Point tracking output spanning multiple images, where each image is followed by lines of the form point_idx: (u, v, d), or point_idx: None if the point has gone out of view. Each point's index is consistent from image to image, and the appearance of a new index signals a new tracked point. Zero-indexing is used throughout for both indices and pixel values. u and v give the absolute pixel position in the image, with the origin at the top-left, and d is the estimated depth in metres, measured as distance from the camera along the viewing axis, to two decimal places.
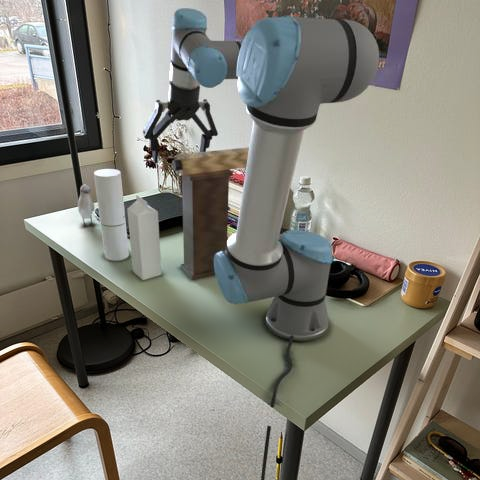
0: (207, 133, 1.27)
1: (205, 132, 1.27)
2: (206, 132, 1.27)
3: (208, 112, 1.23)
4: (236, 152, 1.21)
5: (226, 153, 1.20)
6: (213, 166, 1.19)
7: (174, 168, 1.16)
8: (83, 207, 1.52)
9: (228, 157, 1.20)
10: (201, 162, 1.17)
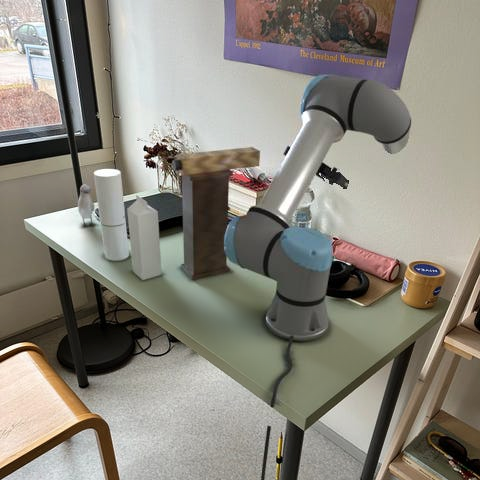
0: None
1: None
2: None
3: None
4: (236, 152, 1.21)
5: (226, 153, 1.20)
6: (213, 166, 1.19)
7: (174, 168, 1.16)
8: (83, 207, 1.52)
9: (228, 157, 1.20)
10: (201, 162, 1.17)
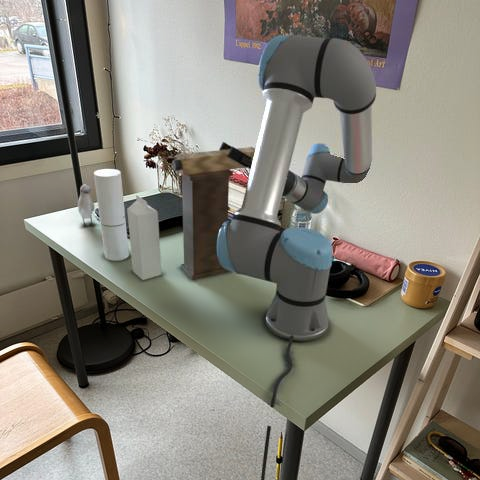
0: None
1: None
2: None
3: None
4: None
5: (226, 153, 1.20)
6: (213, 166, 1.19)
7: (174, 168, 1.16)
8: (83, 207, 1.52)
9: (228, 157, 1.20)
10: (201, 162, 1.17)
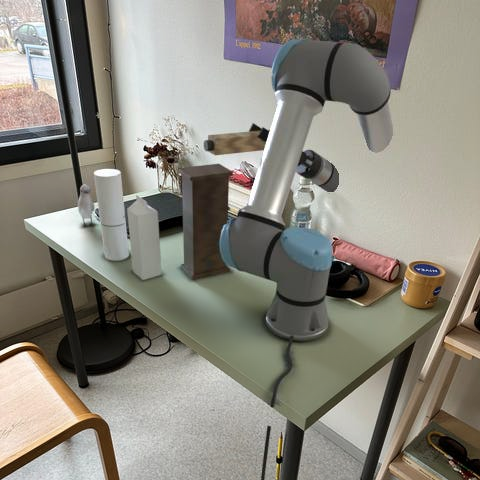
0: None
1: None
2: None
3: (307, 155, 1.27)
4: None
5: (256, 134, 1.21)
6: (244, 147, 1.21)
7: (206, 148, 1.18)
8: (83, 207, 1.52)
9: (259, 138, 1.22)
10: (232, 142, 1.19)
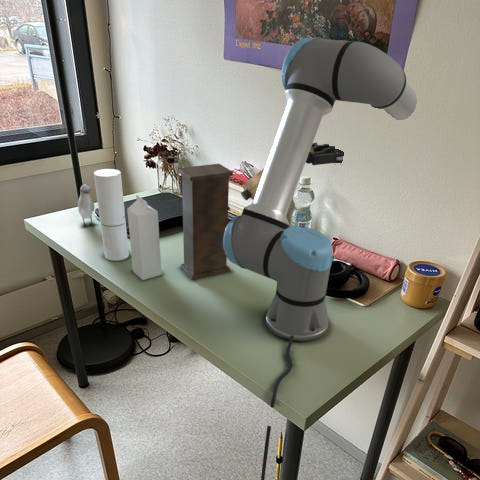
0: (312, 153, 1.31)
1: (313, 153, 1.31)
2: (313, 153, 1.31)
3: (335, 153, 1.32)
4: None
5: None
6: None
7: (245, 198, 1.31)
8: (83, 207, 1.52)
9: None
10: None
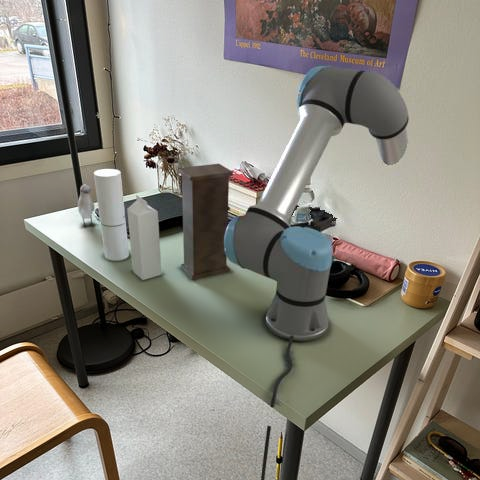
0: (313, 222, 1.40)
1: (313, 221, 1.41)
2: (314, 221, 1.40)
3: (330, 219, 1.43)
4: None
5: None
6: None
7: None
8: (83, 207, 1.52)
9: None
10: None
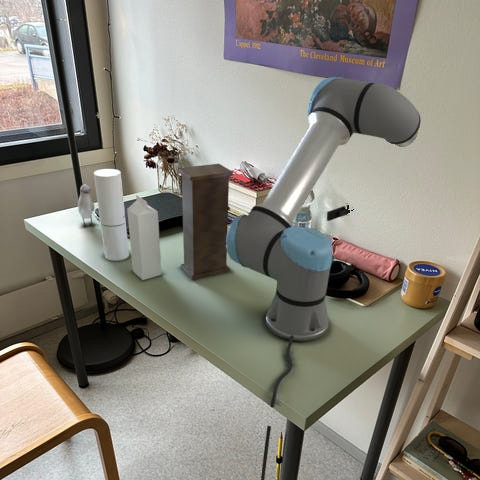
0: None
1: None
2: None
3: None
4: None
5: None
6: None
7: None
8: (83, 207, 1.52)
9: None
10: None
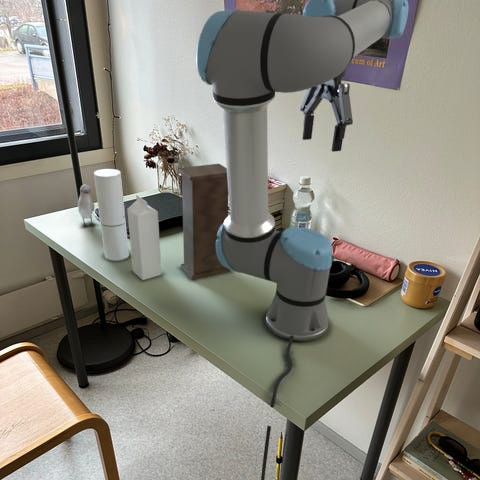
0: (338, 119, 1.23)
1: (336, 117, 1.23)
2: (337, 117, 1.23)
3: (340, 94, 1.20)
4: None
5: None
6: None
7: None
8: (83, 207, 1.52)
9: None
10: None
